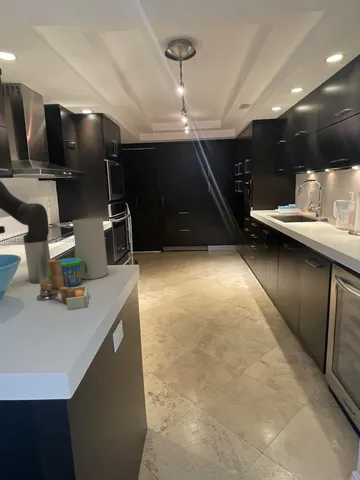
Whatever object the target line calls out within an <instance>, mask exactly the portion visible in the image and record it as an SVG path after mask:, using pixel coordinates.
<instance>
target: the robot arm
mask: <svg viewBox="0 0 360 480" xmlns="http://www.w3.org/2000/svg"><path fill="white" fill-rule="evenodd" d="M0 209H1V210H2V211H3V212H5V213H6V214H8V215H9V216H11V217H12V218H13V219H14V220H16V221H17V222H19V223H20V224H22V225H24V226H27V233H26V234H24V235H23V244H24V253H25V257H26V259H25V260H26V266H27V272H28V280H29V283H31V284H40V283H43V282H50V281H49V279H48V277H47V271H48V262H47V261H49V260H51V254H50V253H51V252H50V246H49V240H48V239H49V238H48V237H49V236H48V235H49V232H50V231H49V216H48V212H47V209H46V207H45V206H44V205H43V204H40V203H32V202H31V203H27V202H24V201H23V200H21V199H20V198H19V199H18V198H17V197H16V196H14V195H13V194H12V193H11V192H10V191H9V190H8V188H7V187H6V185H5V184H4V182H2V181H1V180H0ZM5 232H6V227H5V226H4V225H2V226H1V225H0V234H5Z"/></svg>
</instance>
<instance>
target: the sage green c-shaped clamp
mask: <svg viewBox="0 0 360 480" xmlns="http://www.w3.org/2000/svg"><path fill="white" fill-rule="evenodd" d="M70 288H71V289H75V291H77V290H82V291H84V296H81V297H73V298H67V299H66V301H67V304H66V309H67V311H69V310H76V309H84V308H87V307H88V304H89V303H88V302H89V296H90V295H89V286H88V285H82V286H72V287H70Z"/></svg>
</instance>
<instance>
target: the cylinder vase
mask: <svg viewBox="0 0 360 480" xmlns="http://www.w3.org/2000/svg"><path fill="white" fill-rule="evenodd" d="M103 219H104V218H102V217H99V218H98V217H95V218H82V219H80V218H79V219H73V220H72V229H73V239H74V245H75V248H76V256H77V258H79V259H81V260H83V261H85V262H86V264H87V266H88V273H85V264H84V263H83V262H81V265H80V279H82V280H97V279H101V278H104V277H106V276H107V275H108V273H109V271H108V270H109V269H108V260H107V250H106V249H107V247H106V240H105V229H104V220H103ZM75 248H74V249H75Z"/></svg>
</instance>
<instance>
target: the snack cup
mask: <svg viewBox="0 0 360 480" xmlns="http://www.w3.org/2000/svg"><path fill="white" fill-rule="evenodd" d="M56 260H57V261H61V267H62V275H63V283H64V287H68V288H73V287H75V286H78V285H79V284H80V279H81V278H80V265H81V262H83V263H84V264H85V273H88V266H87V264H86V262H85V261H83V260H81V259H79V258H75V257H70V258H69V257H67V258H62V259H56ZM47 277H48V279H49V281H48V282H50V277H49V270H48V271H47Z"/></svg>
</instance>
